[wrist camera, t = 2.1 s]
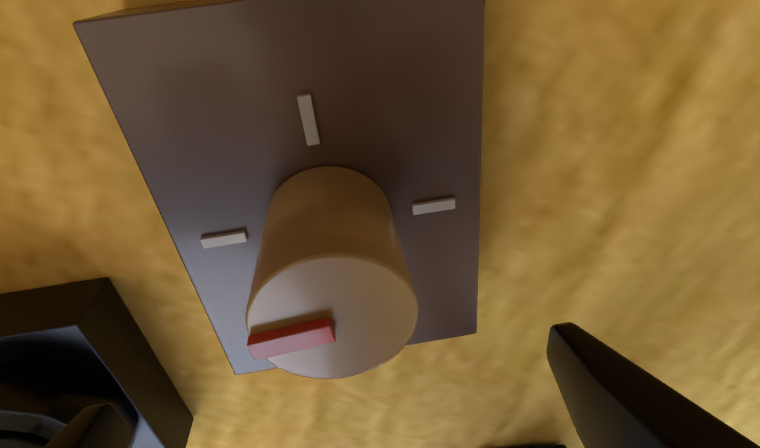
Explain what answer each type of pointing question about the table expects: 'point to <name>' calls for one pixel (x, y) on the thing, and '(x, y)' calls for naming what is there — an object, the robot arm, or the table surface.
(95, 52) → the console
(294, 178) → the volume knob
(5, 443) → the power button
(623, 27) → the table surface
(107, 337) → the switch block
